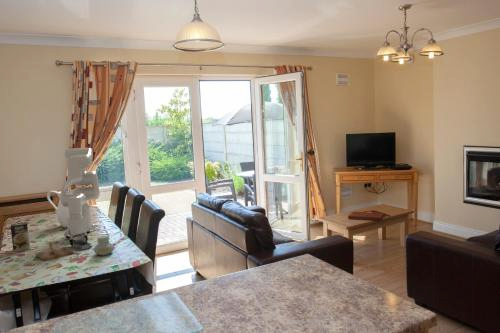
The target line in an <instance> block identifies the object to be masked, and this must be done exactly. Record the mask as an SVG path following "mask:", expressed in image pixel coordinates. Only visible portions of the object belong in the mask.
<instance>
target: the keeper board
mask: <svg viewBox="0 0 500 333" xmlns="http://www.w3.org/2000/svg"><path fill="white" fill-rule="evenodd" d="M48 248H49V250H45V251H41V252H37V253H35V257H36V258H38V259H40V261H42V262H47V261H49V260H54V259H58V258H62V257H66V256H69V255H73V254H74V250H72V249H70V248H68V247H66V246H60V247H57V248H54V245H53V241H48Z"/></svg>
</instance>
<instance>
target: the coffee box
mask: <svg viewBox="0 0 500 333" xmlns="http://www.w3.org/2000/svg"><path fill="white" fill-rule="evenodd" d="M10 233H11V242H12V251H13V252H20V251H24V250H25V251H26V250H30V249H31V243H30V234H29V223H28V222H20V223H12V224H10Z"/></svg>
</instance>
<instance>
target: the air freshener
mask: <svg viewBox="0 0 500 333" xmlns="http://www.w3.org/2000/svg"><path fill="white" fill-rule="evenodd" d="M114 249H115V245H114V244H113V243H112V242H110V241H109V236H108V235H101V236H98V237H97V244H96V245H95V246H94V248H93V252H94V254H96V255H98V256H107V255H109V254H111V253H112V252H113V251H114Z"/></svg>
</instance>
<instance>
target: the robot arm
mask: <svg viewBox="0 0 500 333" xmlns="http://www.w3.org/2000/svg"><path fill="white" fill-rule="evenodd" d="M64 156H65V158H66V163H67V180H66V181H65V182H64V183H63V185H62V186H61V189H60V191H61V204H62V206H64V207H68V210H69V218H70V219H68V227H67V230H66V231H65V232H64V233H62V235H63V236H64V237H65V238H67V239H68V242H69V245H70V246H71V247H73V239H72V238H74V236H76V235H81V234H83V237H85V238H86V242H88V240H89V238H88V237H89V235H90V233H92V232H94V231H95V230H96V229H95V227H100V223H93V221H92V211H91V206H90V205H91V204H89V203H88V202H87V201H93V200H94V201H95V200H98V199H99V198H100V196H101V195H100V184H99V178H98V173H97V172H96V171H93V170H89V171H86V168H91V166H92V165H93V158H94V153H93V149H92V148H91V147H80V148H79V147H77V148H76V147H74V148H68V149H66V150H64ZM73 185H75V186H78V187H75V188H76V189H75V188H74V190H73V189H72V190H73V194H70V195H66V191H68V189H69V188H70V187H71V186H73ZM79 186H80V187H79ZM81 186H82V187H81Z"/></svg>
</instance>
